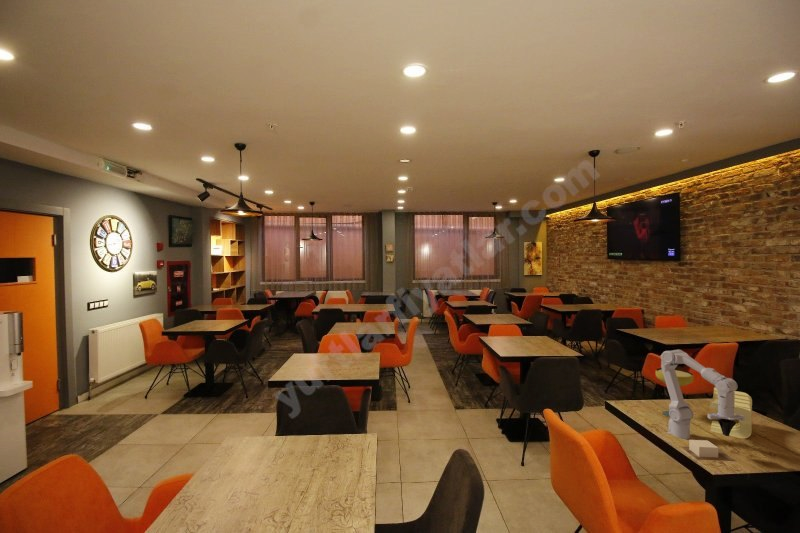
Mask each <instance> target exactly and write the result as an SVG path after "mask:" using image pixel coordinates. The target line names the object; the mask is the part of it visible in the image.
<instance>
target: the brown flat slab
mask: <svg viewBox="0 0 800 533" xmlns="http://www.w3.org/2000/svg"><path fill="white" fill-rule="evenodd" d="M681 448H682V449H683V450H685V451H686V452H687V453H689V454H690V455H691V456H692V457H694V458H695V459H696V460H698V461H699V460H701V461H722V462H723V461H724V462H736V460H735V459H734V458H732V457H731V456H730V455H728V454H726V453H725V452H724V451H722V449H721V450H720V449H719V448H718V458H715V457H699V456H697V455H696V454H695V453H693V452H692V451H691V450H690V449H689V446H681Z"/></svg>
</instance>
